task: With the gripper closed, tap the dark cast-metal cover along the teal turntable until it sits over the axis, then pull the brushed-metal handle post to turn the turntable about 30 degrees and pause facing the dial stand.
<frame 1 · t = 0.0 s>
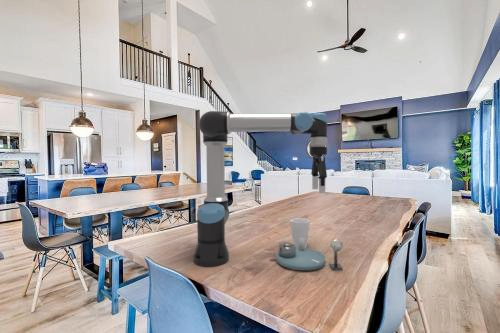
hand: (318, 191, 123), 28 cm above the table, fingers open, 13 cm apart
turntable: (300, 251, 109), point 4 cm above the table, hinge at 0.0°, touching cover
cover: (287, 255, 109), point 3 cm above the table, touching turntable
dial stand: (335, 268, 103), on the table
foam cup: (299, 246, 128), on the table
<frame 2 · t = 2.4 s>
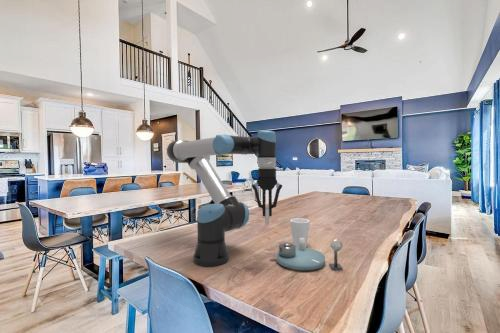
hand: (267, 223, 109), 16 cm above the table, fingers closed
nothing on the table moved.
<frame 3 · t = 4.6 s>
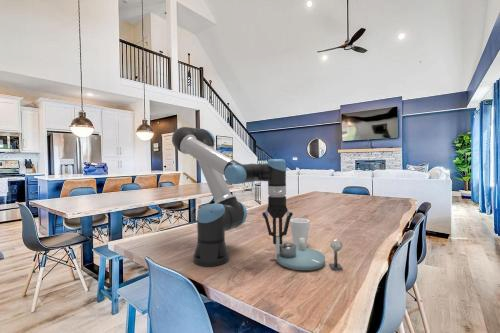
hand: (277, 251, 109), 4 cm above the table, fingers closed
cover: (287, 255, 109), point 3 cm above the table, touching gripper, turntable
everything else where it was.
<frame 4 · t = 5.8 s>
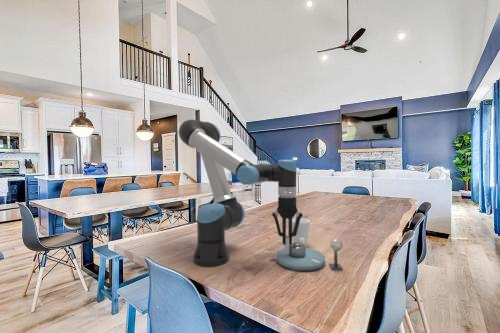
hand: (287, 252, 109), 4 cm above the table, fingers closed
cover: (297, 255, 109), point 3 cm above the table, touching gripper, turntable
everything else where it was.
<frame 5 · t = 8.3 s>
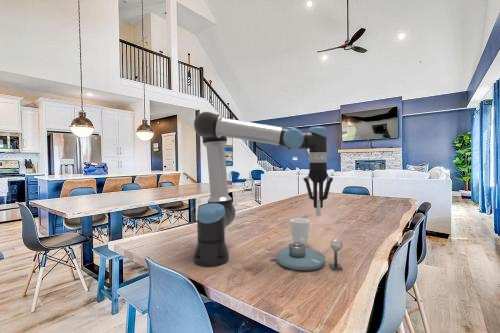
hand: (318, 215, 115), 18 cm above the table, fingers closed
cover: (297, 255, 109), point 3 cm above the table, touching turntable
everything else where it was.
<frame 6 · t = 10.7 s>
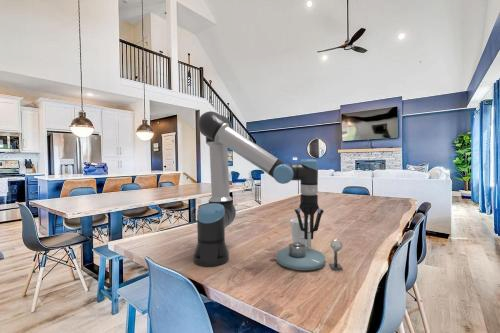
hand: (308, 246, 116), 4 cm above the table, fingers closed
turntable: (300, 251, 109), point 4 cm above the table, hinge at 0.0°, touching cover, gripper
everything else where it was.
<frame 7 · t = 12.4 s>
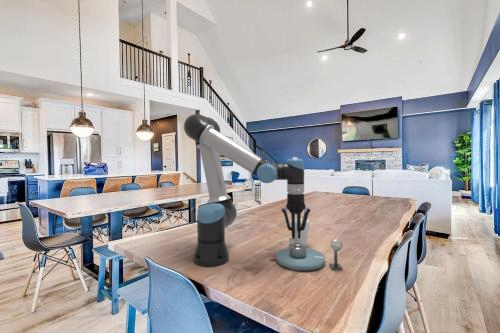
hand: (296, 245, 117), 5 cm above the table, fingers closed
turntable: (300, 251, 109), point 4 cm above the table, hinge at 36.2°, touching cover, gripper
everything else where it was.
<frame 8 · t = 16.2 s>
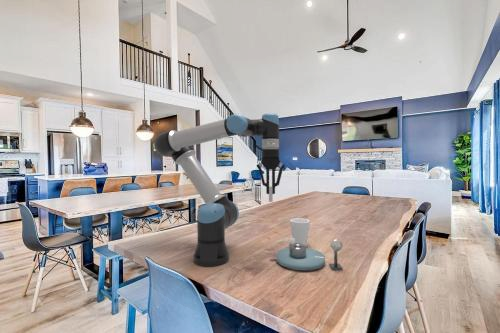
hand: (270, 201, 117), 24 cm above the table, fingers closed
turntable: (300, 251, 109), point 4 cm above the table, hinge at 36.4°, touching cover
everything else where it was.
at the end: cover 1.3 cm from the turntable (horizontally); turntable at +36° (first picture: +0°); cover tilted 0° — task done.
